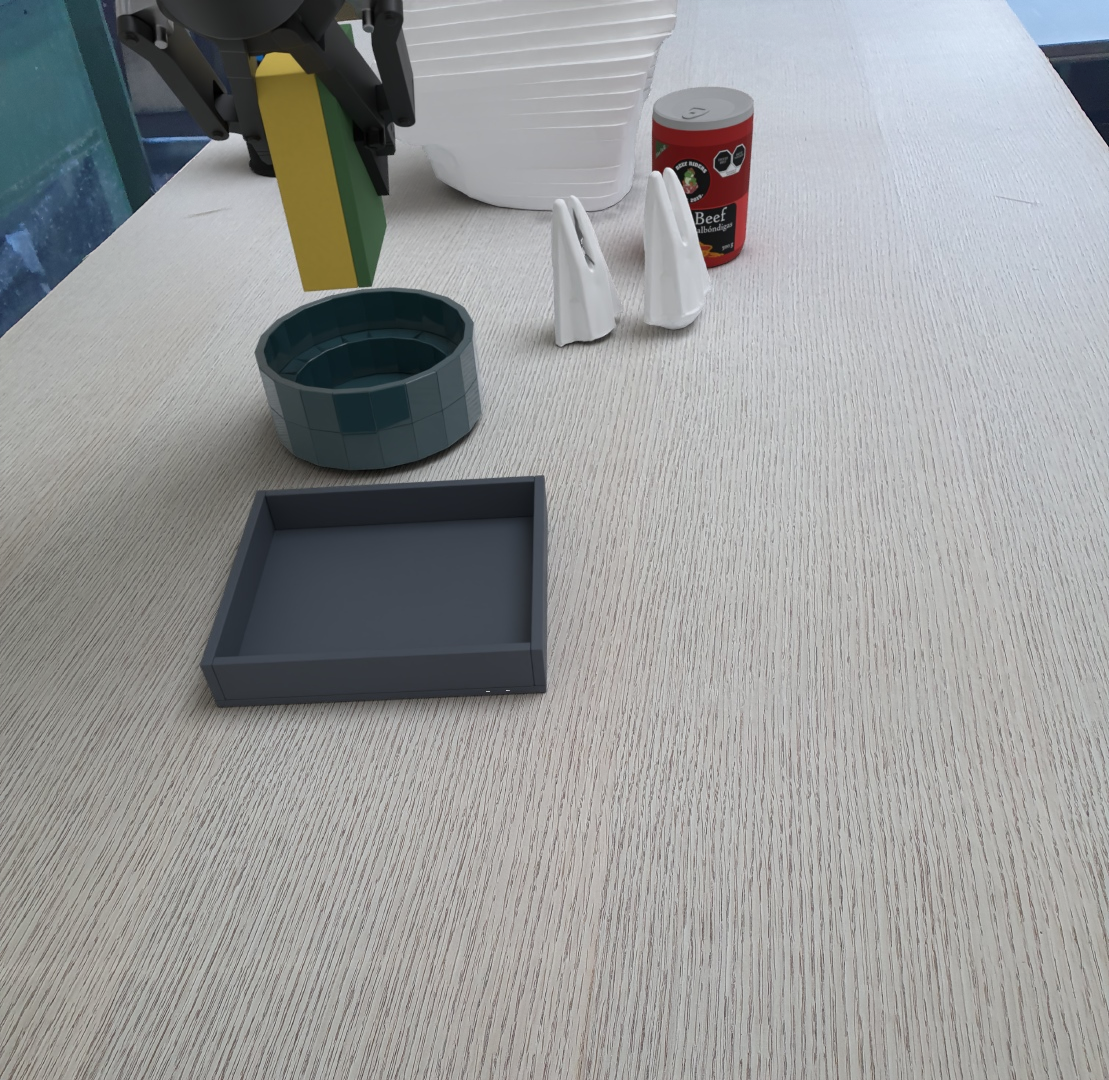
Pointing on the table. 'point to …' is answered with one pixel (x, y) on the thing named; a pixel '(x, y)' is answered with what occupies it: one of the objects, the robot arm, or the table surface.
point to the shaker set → (669, 266)
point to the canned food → (708, 161)
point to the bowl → (371, 377)
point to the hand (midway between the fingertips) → (343, 175)
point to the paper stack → (532, 94)
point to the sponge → (320, 177)
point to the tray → (385, 594)
